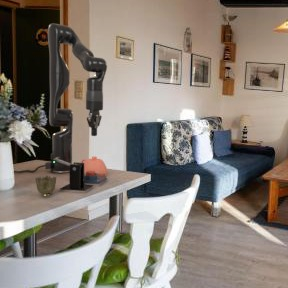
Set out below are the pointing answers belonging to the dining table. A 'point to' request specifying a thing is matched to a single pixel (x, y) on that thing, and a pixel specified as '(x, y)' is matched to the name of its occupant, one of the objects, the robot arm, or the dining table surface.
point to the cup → (45, 185)
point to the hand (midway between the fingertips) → (94, 135)
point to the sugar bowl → (95, 166)
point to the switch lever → (60, 161)
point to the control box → (94, 179)
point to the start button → (90, 173)
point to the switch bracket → (76, 178)
